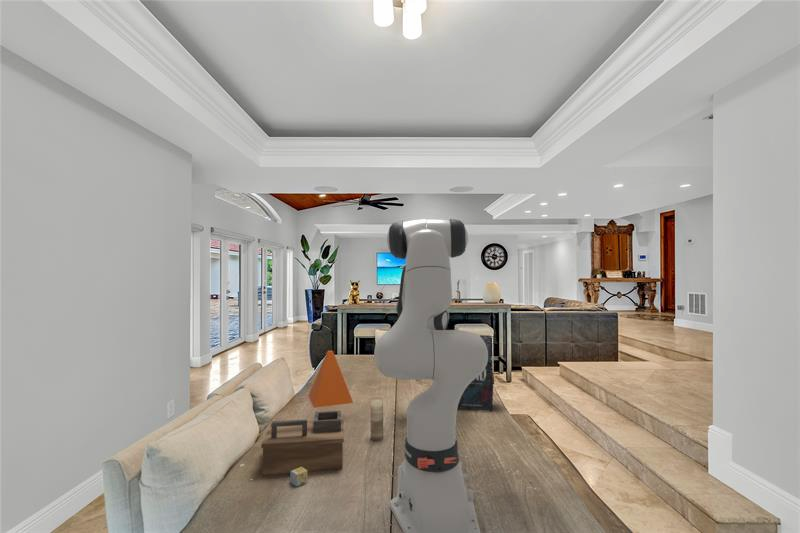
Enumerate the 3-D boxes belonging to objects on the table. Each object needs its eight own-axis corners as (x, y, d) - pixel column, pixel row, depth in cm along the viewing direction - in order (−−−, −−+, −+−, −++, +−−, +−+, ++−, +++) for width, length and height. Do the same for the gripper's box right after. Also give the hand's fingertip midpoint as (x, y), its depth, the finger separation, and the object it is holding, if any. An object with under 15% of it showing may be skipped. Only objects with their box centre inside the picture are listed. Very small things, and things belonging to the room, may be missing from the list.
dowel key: (383, 439, 117) (383, 401, 117) (371, 440, 116) (371, 402, 117) (382, 434, 121) (382, 397, 121) (370, 435, 120) (370, 397, 121)
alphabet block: (290, 482, 93) (290, 470, 93) (301, 477, 95) (301, 465, 95) (296, 487, 91) (296, 475, 91) (307, 482, 93) (307, 470, 93)
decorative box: (493, 411, 141) (492, 337, 142) (449, 409, 144) (449, 336, 144) (491, 404, 149) (491, 334, 150) (449, 402, 152) (449, 333, 152)
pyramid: (353, 403, 151) (353, 353, 152) (313, 408, 145) (314, 356, 146) (344, 391, 166) (344, 346, 166) (308, 395, 160) (308, 349, 160)
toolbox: (343, 469, 100) (343, 423, 100) (261, 475, 96) (261, 428, 97) (343, 445, 113) (343, 405, 113) (271, 450, 110) (271, 409, 110)
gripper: (397, 337, 140) (379, 368, 133) (442, 342, 127) (425, 377, 119) (405, 347, 144) (388, 378, 136) (450, 354, 130) (433, 388, 122)
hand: (405, 378), depth 127 cm, fingers open, 8 cm apart
